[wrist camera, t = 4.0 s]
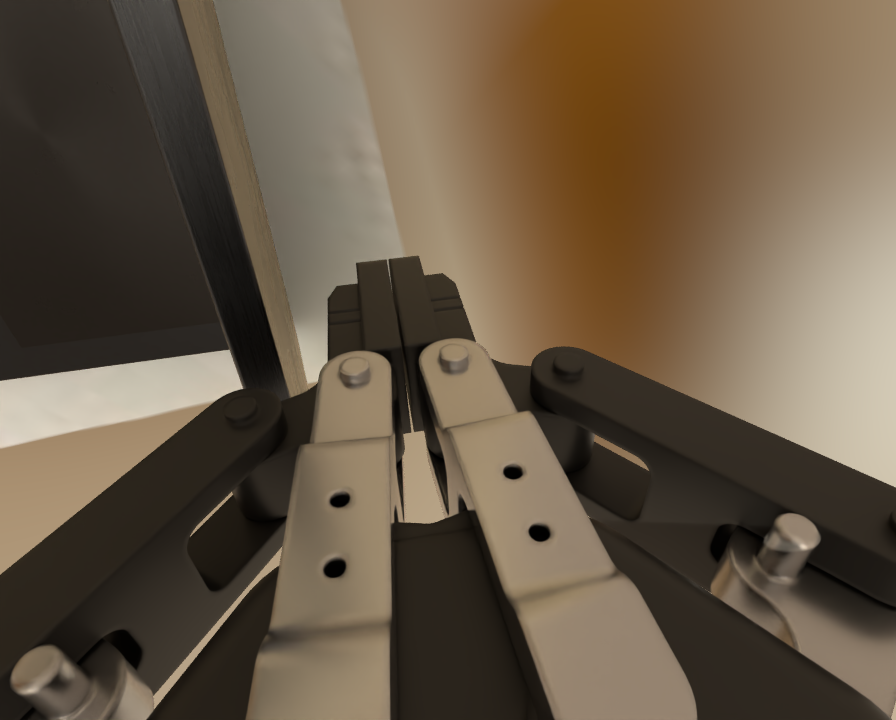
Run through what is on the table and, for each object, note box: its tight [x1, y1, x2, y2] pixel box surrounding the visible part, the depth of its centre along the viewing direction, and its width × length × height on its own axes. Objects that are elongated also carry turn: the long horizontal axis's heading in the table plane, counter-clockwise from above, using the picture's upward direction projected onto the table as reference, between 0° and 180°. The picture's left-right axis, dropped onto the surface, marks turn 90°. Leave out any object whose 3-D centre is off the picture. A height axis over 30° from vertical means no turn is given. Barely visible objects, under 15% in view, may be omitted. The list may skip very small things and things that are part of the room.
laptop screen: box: [107, 0, 308, 401], centre depth 18 cm, size 20×26×1 cm
